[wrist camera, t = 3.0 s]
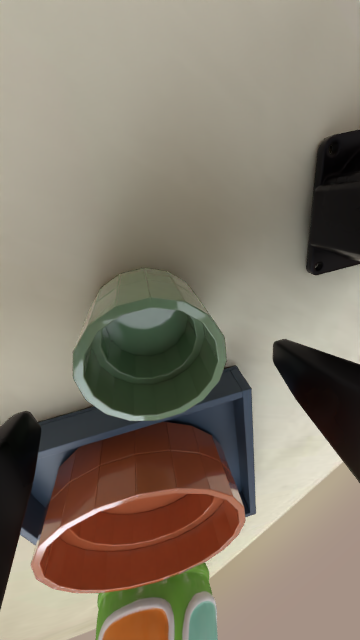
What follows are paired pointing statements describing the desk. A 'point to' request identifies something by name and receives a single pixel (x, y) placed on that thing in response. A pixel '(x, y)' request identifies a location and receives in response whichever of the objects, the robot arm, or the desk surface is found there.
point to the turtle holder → (161, 610)
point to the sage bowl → (147, 348)
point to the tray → (93, 425)
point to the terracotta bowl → (137, 510)
